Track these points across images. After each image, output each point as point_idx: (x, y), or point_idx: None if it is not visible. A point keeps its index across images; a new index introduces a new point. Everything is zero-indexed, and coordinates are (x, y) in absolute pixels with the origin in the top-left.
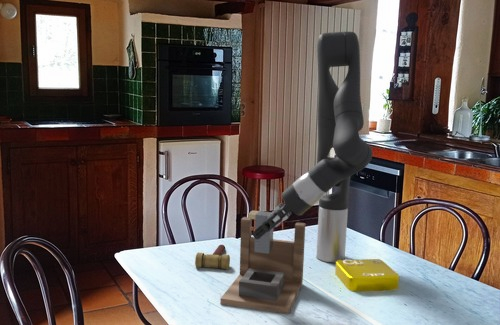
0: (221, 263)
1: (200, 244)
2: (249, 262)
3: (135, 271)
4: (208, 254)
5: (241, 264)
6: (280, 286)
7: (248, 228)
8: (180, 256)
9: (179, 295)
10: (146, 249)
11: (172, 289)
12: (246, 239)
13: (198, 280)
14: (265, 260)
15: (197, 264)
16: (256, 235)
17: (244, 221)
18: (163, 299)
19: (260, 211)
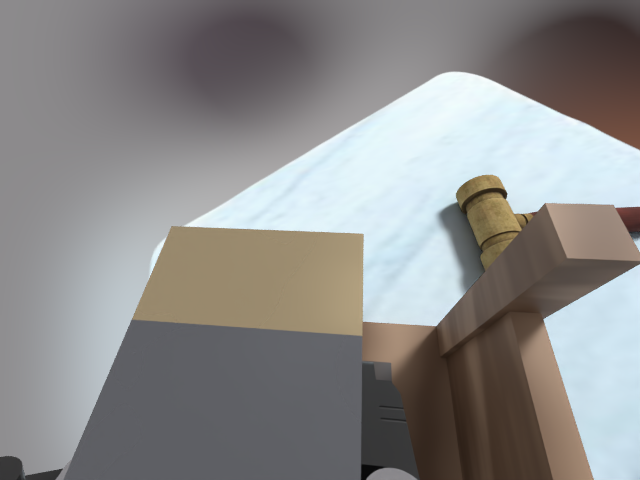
0: (483, 252)
1: (632, 164)
2: (462, 349)
3: (376, 116)
4: (499, 202)
5: (447, 320)
6: None
7: (527, 280)
8: (509, 153)
9: (277, 218)
10: (504, 92)
11: (306, 197)
12: (493, 298)
13: (377, 230)
14: (482, 427)
15: (457, 199)
16: None
17: (544, 231)
18: (252, 198)
19: (348, 359)
